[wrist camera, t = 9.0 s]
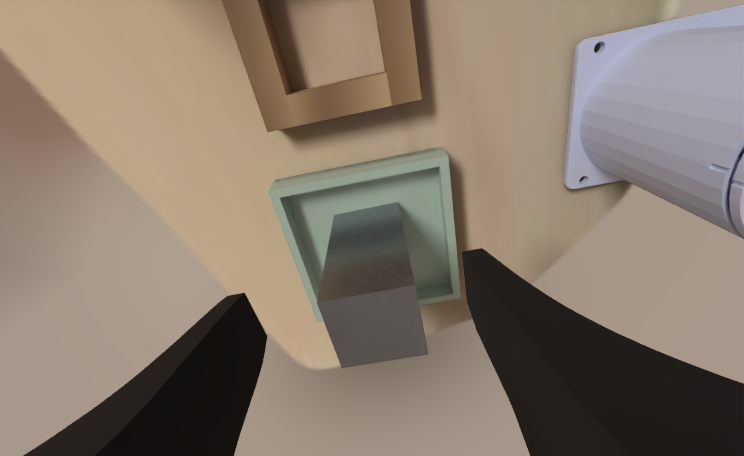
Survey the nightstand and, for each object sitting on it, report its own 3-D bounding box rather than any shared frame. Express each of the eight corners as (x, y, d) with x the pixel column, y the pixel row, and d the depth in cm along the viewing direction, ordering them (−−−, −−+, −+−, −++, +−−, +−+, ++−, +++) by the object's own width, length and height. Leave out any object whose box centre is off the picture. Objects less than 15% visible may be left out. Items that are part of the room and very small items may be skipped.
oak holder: (392, -104, 14) (395, -121, 12) (417, 95, 17) (421, 99, 16) (213, -57, 14) (198, -68, 13) (274, 126, 18) (267, 132, 17)
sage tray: (441, 146, 19) (448, 155, 17) (454, 282, 23) (461, 298, 22) (275, 180, 20) (267, 191, 18) (320, 304, 24) (317, 322, 23)
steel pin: (397, 201, 20) (415, 285, 13) (408, 255, 22) (428, 354, 15) (334, 214, 20) (316, 302, 13) (349, 266, 22) (342, 367, 15)
